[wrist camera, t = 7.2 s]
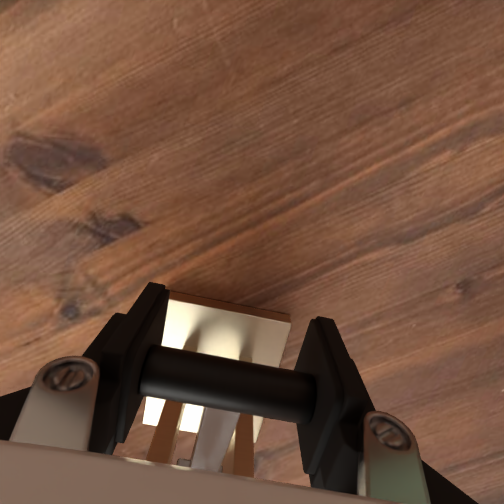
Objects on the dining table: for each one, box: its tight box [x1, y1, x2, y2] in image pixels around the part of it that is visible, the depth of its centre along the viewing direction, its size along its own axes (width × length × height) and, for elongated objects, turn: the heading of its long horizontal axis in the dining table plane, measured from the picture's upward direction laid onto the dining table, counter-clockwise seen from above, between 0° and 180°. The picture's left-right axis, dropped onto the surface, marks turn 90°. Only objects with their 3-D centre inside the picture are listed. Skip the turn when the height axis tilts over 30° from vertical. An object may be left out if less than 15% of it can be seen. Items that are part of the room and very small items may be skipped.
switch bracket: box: [142, 291, 292, 478], centre depth 20 cm, size 11×9×12 cm
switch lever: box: [138, 344, 316, 473], centre depth 13 cm, size 12×5×2 cm, turn 167°
